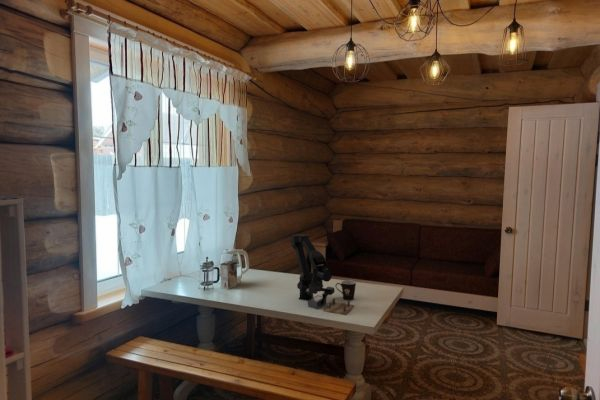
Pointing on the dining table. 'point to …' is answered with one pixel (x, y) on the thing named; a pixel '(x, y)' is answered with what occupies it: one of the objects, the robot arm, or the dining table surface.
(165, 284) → the dining table surface
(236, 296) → the dining table surface
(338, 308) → the wooden peg board
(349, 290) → the coffee mug
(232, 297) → the dining table surface
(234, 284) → the coffee box
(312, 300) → the drive
